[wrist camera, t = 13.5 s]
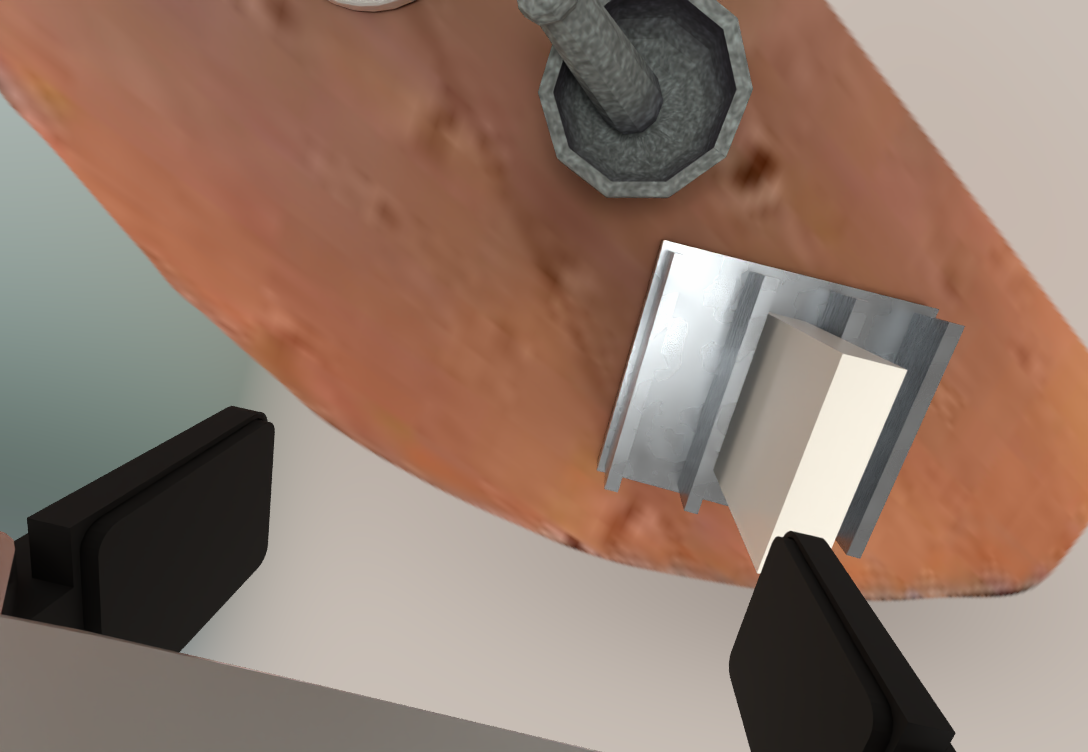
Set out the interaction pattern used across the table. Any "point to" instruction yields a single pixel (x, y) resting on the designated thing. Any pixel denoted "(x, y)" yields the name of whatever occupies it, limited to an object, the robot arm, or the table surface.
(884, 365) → the white flat block
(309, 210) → the table surface
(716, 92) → the mortar and pestle
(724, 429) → the rack
